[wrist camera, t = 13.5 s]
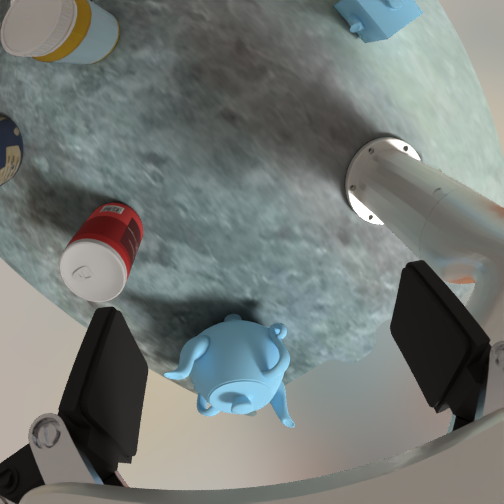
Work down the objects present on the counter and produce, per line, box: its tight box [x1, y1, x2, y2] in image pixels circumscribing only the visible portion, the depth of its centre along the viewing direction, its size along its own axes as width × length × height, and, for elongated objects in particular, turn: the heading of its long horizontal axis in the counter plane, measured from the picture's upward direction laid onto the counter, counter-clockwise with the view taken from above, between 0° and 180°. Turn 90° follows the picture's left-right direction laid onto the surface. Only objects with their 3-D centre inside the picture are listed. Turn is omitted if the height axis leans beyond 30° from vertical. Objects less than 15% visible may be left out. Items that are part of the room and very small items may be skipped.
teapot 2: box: [333, 0, 423, 43], centre depth 24 cm, size 12×6×8 cm, turn 134°
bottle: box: [1, 0, 120, 65], centre depth 19 cm, size 7×7×15 cm
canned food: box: [59, 203, 143, 302], centre depth 33 cm, size 8×8×11 cm
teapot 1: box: [164, 314, 295, 427], centre depth 45 cm, size 16×20×14 cm
